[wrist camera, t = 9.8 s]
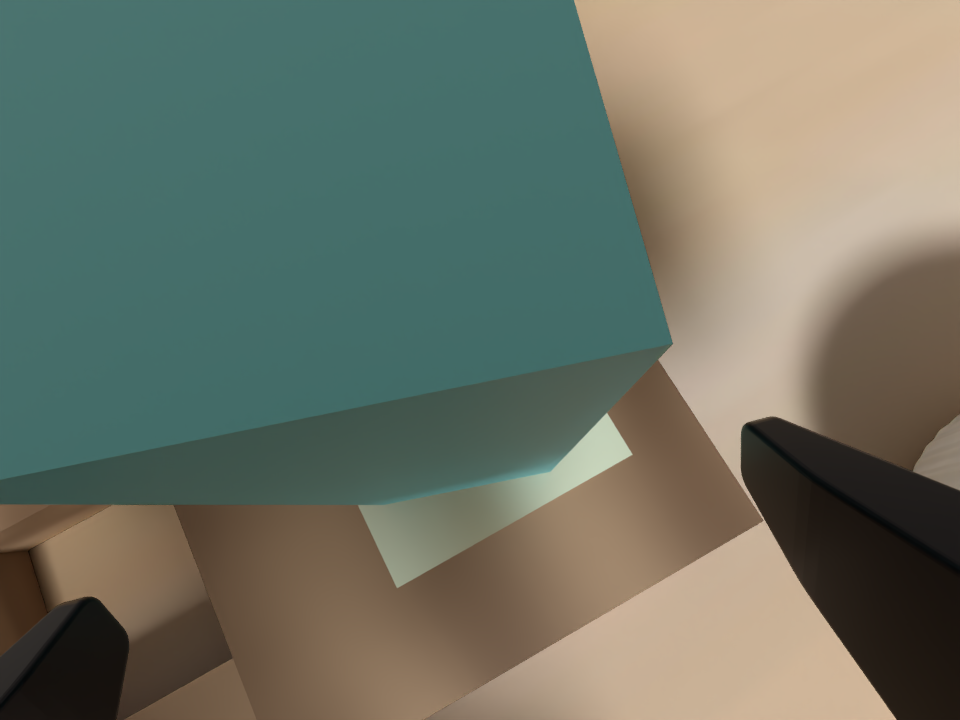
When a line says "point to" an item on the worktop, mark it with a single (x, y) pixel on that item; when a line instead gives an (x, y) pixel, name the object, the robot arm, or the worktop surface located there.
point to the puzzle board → (426, 572)
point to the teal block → (307, 250)
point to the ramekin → (942, 456)
